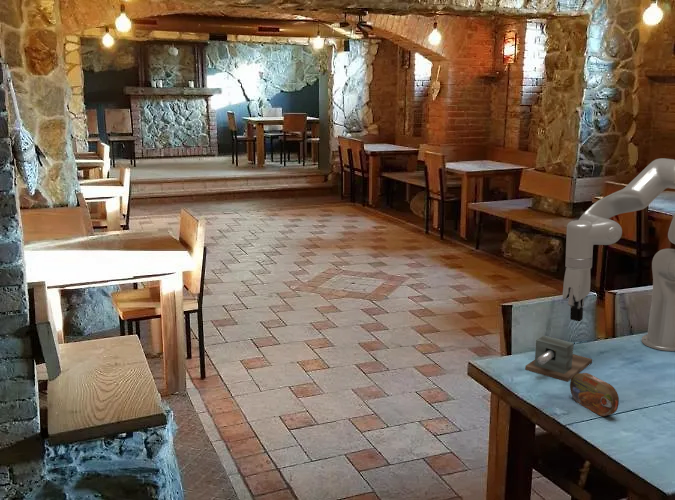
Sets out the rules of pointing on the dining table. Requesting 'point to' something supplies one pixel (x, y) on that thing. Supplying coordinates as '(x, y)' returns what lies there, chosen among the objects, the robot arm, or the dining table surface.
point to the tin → (594, 394)
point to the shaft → (546, 356)
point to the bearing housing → (557, 359)
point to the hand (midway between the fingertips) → (576, 319)
